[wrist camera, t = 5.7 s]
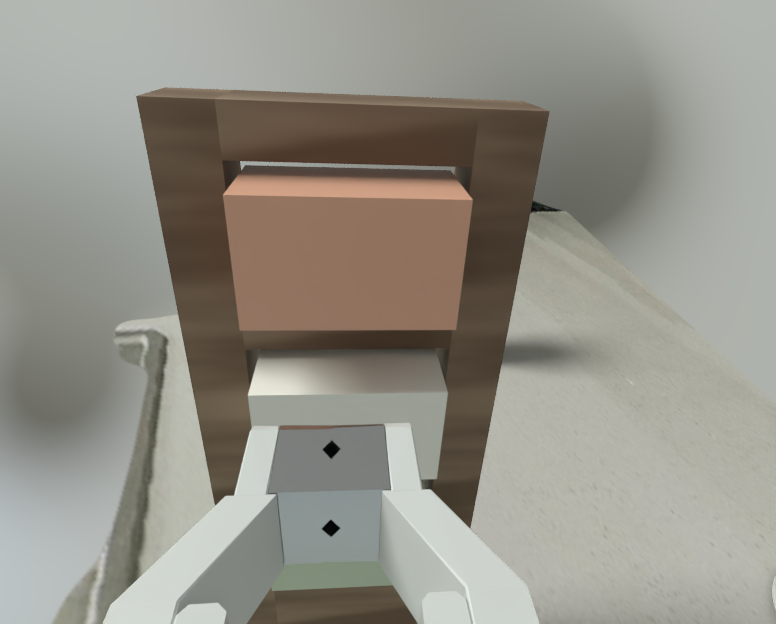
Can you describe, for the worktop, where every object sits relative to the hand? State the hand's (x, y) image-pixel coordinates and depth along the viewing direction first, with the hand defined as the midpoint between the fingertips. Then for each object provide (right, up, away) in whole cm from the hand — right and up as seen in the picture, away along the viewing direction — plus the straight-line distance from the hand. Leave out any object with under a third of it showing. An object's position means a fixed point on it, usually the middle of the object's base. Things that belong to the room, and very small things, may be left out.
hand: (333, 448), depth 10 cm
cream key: (-1, -4, +14) cm, 15 cm away
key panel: (-2, -22, +27) cm, 34 cm away
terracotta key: (-1, +3, +10) cm, 11 cm away
